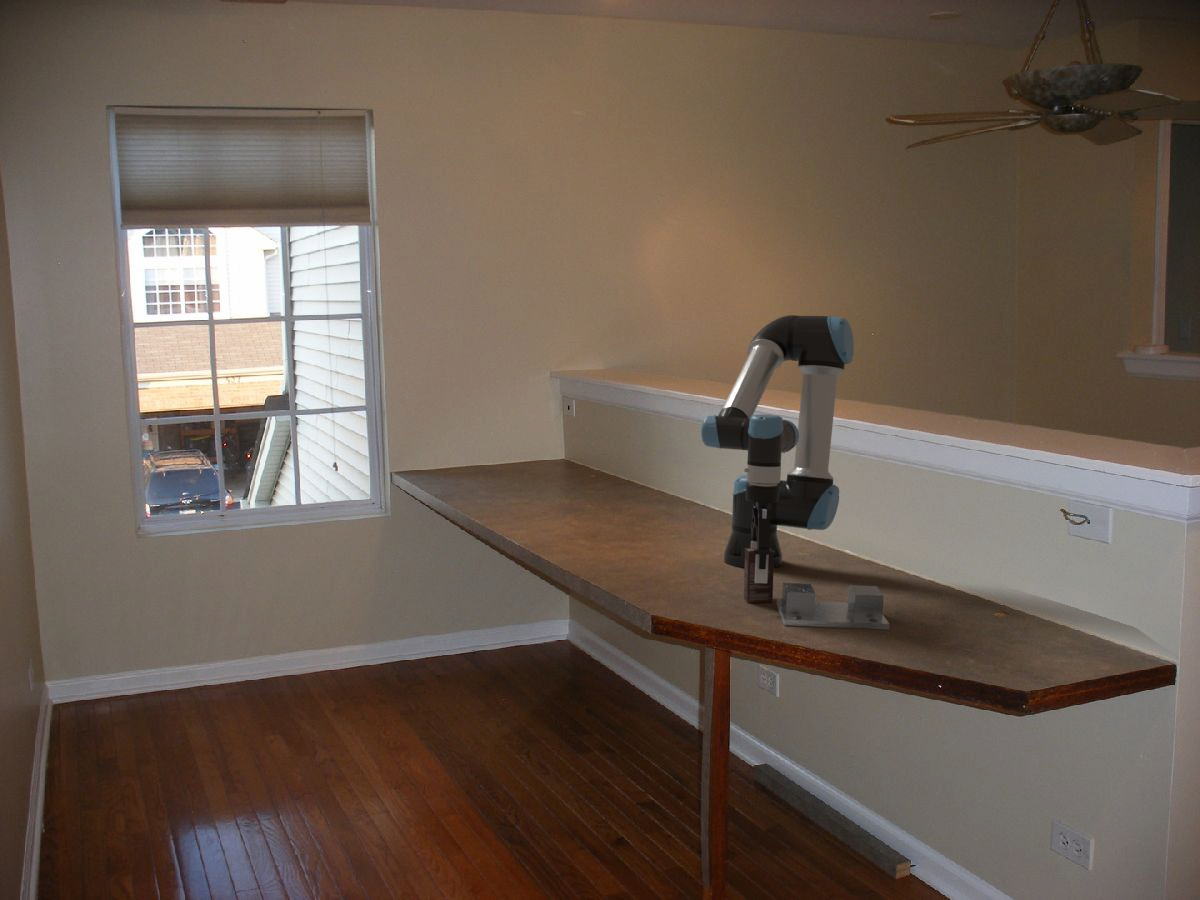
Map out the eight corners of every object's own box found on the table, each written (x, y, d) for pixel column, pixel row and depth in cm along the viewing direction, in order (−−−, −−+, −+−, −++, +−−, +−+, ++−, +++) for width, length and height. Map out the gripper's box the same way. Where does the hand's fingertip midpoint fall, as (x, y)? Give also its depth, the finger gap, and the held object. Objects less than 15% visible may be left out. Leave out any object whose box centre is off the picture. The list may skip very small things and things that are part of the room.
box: (767, 598, 265) (770, 547, 263) (772, 603, 260) (775, 551, 259) (742, 598, 264) (744, 546, 263) (746, 603, 260) (748, 551, 258)
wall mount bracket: (776, 604, 259) (777, 578, 258) (874, 608, 258) (876, 581, 257) (784, 625, 243) (785, 596, 243) (889, 629, 242) (890, 600, 242)
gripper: (742, 475, 271) (737, 563, 274) (750, 491, 246) (745, 588, 249) (774, 476, 271) (769, 564, 273) (785, 492, 246) (780, 589, 249)
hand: (758, 576), depth 261 cm, fingers open, 13 cm apart
